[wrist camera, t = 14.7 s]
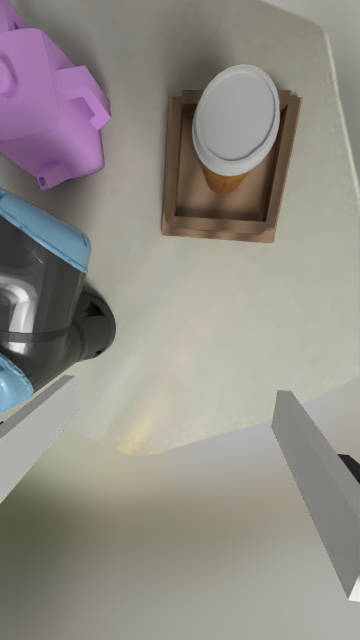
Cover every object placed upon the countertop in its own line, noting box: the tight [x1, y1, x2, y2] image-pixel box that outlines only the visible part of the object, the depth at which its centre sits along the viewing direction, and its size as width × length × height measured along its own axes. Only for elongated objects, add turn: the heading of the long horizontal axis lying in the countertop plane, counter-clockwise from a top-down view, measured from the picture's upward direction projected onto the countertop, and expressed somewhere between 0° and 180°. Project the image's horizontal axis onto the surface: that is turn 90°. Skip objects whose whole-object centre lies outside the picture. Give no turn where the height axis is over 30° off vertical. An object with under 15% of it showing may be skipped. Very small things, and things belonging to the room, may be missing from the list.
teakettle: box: [0, 0, 111, 190], centre depth 28 cm, size 17×17×12 cm
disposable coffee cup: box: [192, 64, 280, 194], centre depth 26 cm, size 10×10×12 cm
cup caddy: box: [162, 90, 302, 243], centre depth 31 cm, size 20×20×4 cm
